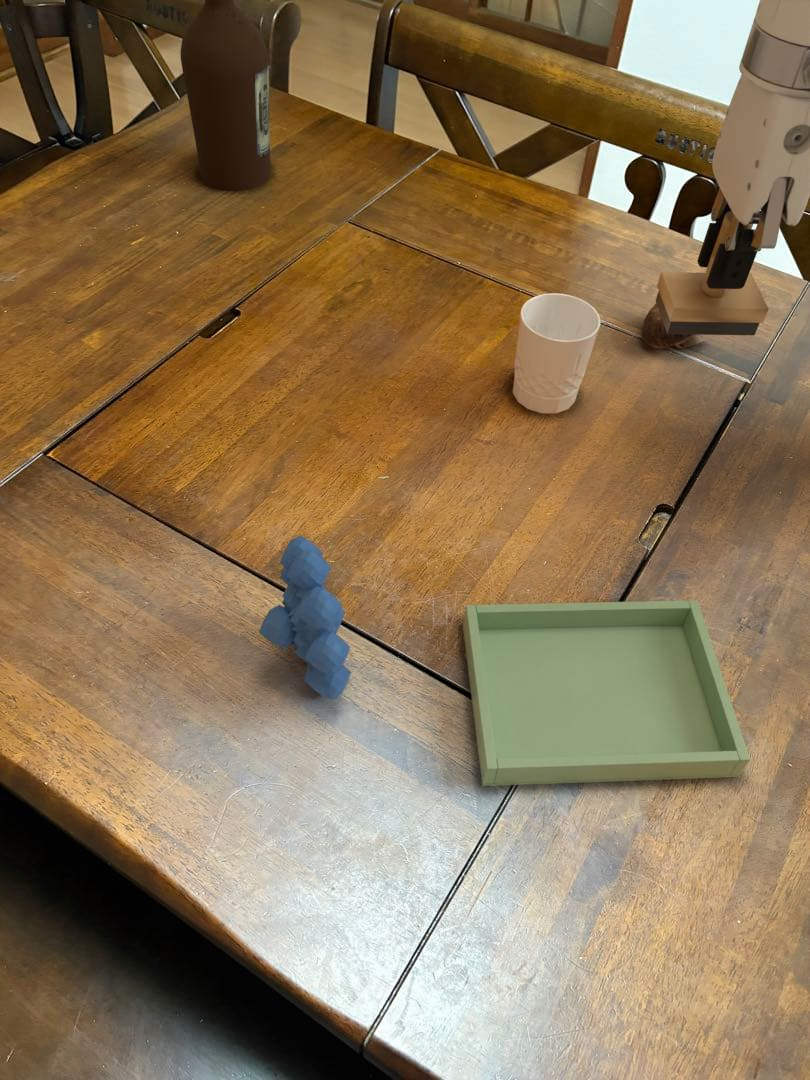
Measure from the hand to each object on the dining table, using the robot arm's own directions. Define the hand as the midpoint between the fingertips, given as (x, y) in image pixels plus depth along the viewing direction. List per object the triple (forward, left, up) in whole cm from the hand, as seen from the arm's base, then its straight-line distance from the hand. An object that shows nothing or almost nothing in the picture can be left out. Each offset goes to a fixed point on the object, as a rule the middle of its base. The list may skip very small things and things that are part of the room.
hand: (719, 274), depth 80 cm
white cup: (+11, -6, -19) cm, 23 cm away
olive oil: (+46, -51, -19) cm, 72 cm away
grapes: (+36, +27, -19) cm, 49 cm away
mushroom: (-5, -15, -19) cm, 25 cm away
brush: (0, 0, -5) cm, 5 cm away
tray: (+13, +31, -19) cm, 38 cm away
